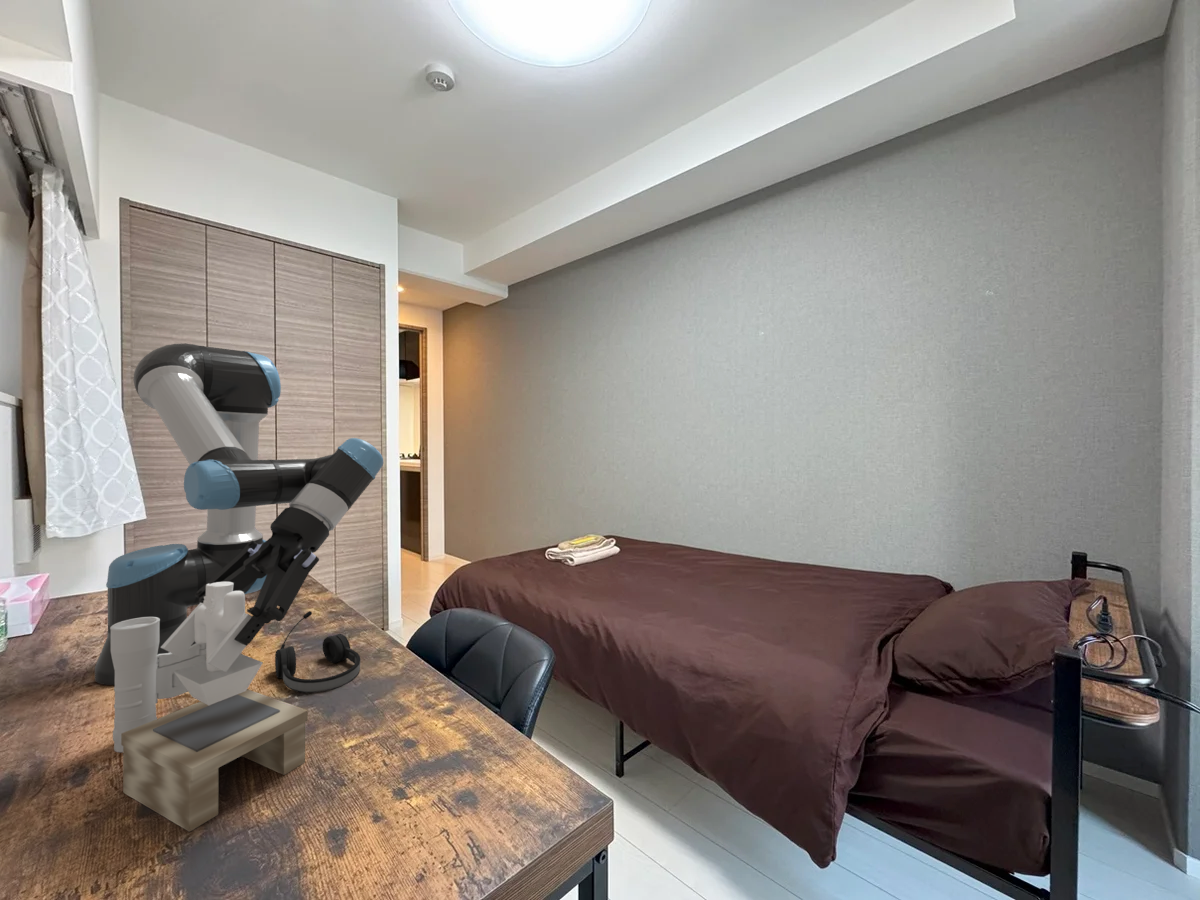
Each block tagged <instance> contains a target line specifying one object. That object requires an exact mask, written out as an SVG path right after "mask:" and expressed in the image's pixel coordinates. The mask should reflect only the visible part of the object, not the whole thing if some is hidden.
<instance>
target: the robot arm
mask: <svg viewBox="0 0 1200 900" xmlns="http://www.w3.org/2000/svg"><path fill="white" fill-rule="evenodd" d="M279 374H280V373H279V372H278V369H277V367H276V366H275V364H274V363H273V361H272V359H270V358H269V357H268V356H265V355H263V354H259V353H255V352H249V351H245V350H237V349H236V350H235V349H229V348H228V349H227V348H221V347H212V346H206V345H205V346H204V345H198V344H194V343H188V342H187V343H182V342H180V343H171V344H167V345H163V346H160V347H158V348H155V349H154V350H153V349H152V350H151V351H150V352H149V353H146V355H144V357H142V358H141V360H140V361H139V362H138V364H137V366H136V367H135V369H134V372H133V385H134V388H135V391H136V393H137V395H138V396H139V398H140V399H141V401H142V402H143V403H144V404H146V405H147V406H148V407H150V408H152V409H154V410H155V411H156V412H157V414H158V416H159V417H160V419H161V420H162V422H163V424H164V425H165V427H166V429H167V430H168V432H169V433H170V436H171V437H172V439H173V440H174V441H175V443H176V445H177V447H178V448H179V449H180V452H181V453H182V455H183V456H184V457H185V459H186V461H187V463H188V466H187V468H186V471H185V474H184V476H183V477H184V478H183V490H184V493H185V498H186V500H187V503H188V504H189V505H190V507H192V508H194V509H196V510H204V511H207V512H206V513H207V516H206V520H207V521H206V530H205V532H203V533H202V534H201V535H199V537H197V539H196V540H197V542H196V543H197V545H196V548H193V549H189V548H188V547H187V545H185V544H182V543H169V544H165V545H154V546H150V547H145V548H141V549H137V550H134V551H131V552H127V553H124V554H122V555H120V556H118V557H116V558H115V559H113V560H112V561H111V563H110V564H109V566H108V571H107V580H106V582H105V583H106V585H105V586H106V588H107V637H106V639H105V641H104V643H103V644H104V645H103V647H102V649H101V652H100V653H99V656H98V658H97V661H96V664H95V667H94V681H95V682H96V683H98V684H101V685H105V686H108V685H109V686H110V685H112V686H115V670H114V666H113V661H112V656H111V629H110V627H111V626H112V625H114V624H116V623H119V622H122V621H125V620H129V619H134V618H141V617H157V618H159V619H160V626H159V647H158V653H157V655H158V654H165V653H172V654H174V655H176V656H178V657H182V655H183V654H184V653H185V652H186V651H187V649H188V648H189V647H190V646H192V645H194V644H195V643H196V642H195V639H194V618H195V613H196V610H197V608H198V607H199V606H201V605H203V601H204V596H206V584H209V583H210V584H212V583H216V582H232V583H234V586H233V591H243V592H244V594H245V595H247V594H252V593H255V592H258V591H259V594H258V595H257V598H256V601H255V603H254V605H253V607H250V608H247V609H246V611H247V613H246V612H245V614H244V615H243V616H242V617H241V619H240V620H239V621H238V622H237V624H236V625H235V626H234V627H233V628H232V630H231V631H230V632H229V633H228V635H227V636H226V637H225V638H224V639H223V641H222V642H221V643H220V644H219V646H218V647H217V648H216V649H215V650H214V652H213V653H212V654H211V655H210V657H209V658H208V659H207V660H206V661H205V662H206V663H208V664H210V665H212V666H214V667H216V668H218V669H219V670H221V671H224V672H226V671H227V670H228V669H229V667H230V666H231V665H232V664H233V662H234V661H235V660H236V659H237V657H238V656H239V655H240V653H241V652H242V653H243V651H244V649H246V647H247V646H248V645H249V644H250V643H251V642H252V641H253V640H254V638H255V637H256V636H257V635H258V633H259V632H260V631H261V629H262V628H263V627H264V626H265V625H266V624H267V625H268V623H270V622H271V621H277V622H281V621H282V620H283V619H284V618H285V617H286V615H287V613H288V611H289V609H290V608H291V606H292V604H293V603H294V601H295V598H296V597H297V595H298V594H299V591H300V589H301V588H302V586H303V584H304V583H305V581H306V579H307V577H308V575H309V574H310V572H311V571H312V570H313V569H314V568H315V566H316V565H317V563H318V562H319V561H320V558H319V557H318V556H317V555H316V554H314V553H316V552H317V551H318V550H319V549H320V548H321V547H322V545H323V544H324V542H325V541H326V540H327V538H329V536H330V532H331V531H333V530H334V529H335V528H336V527H337V525H338V524H339V523H340V522H341V520H342V519H343V517H344V516H345V515H346V514H347V512H349V510H350V509H351V508H352V507H353V505H354V504H355V502H357V500H358V499H359V498H360V496H361V495H362V494H363V493H364V491H365V490H366V489H367V488H368V487H369V485H370V484H371V482H373V480H375V479H376V476H377V475H378V473H379V472H380V470H381V469H382V468H383V466H384V458H383V455H382V453H381V452H380V451H379V450H378V449H377V448H376V447H375V446H374V445H372V444H371V443H370V442H368V441H366V440H364V439H361V438H357V437H350V438H348V439H346V440H345V441H344V442H343V443H342V444H341V445H338V447H337V449H336V451H335V452H334V453H332V454H328V455H325V456H322V457H317V458H302V459H301V458H299V459H298V458H297V459H294V458H293V459H292V458H291V459H288V458H287V459H259V440H260V439H259V438H260V437H259V436H260V435H259V434H260V431H259V430H260V422H261V421H262V420H263V419H265V418H266V417H267V416H268V415H269V414H268V412H269V408H273V407H275V406H276V405H277V404H278V402H279V401H280V400H279V398H280V397H281V393H282V387H281V379H280V375H279ZM280 504H282V505H283V504H288V506H289V507H285V508H284V509H283V510H282V511H281V513H280V514H278V515H277V517H276V518H275V519H274V520H273V522H272V523H271V524H270V531H271V534H272V535H271V536H270V537H269V538H268V539H267V540H266V539H264V534H263V533H262V532H261V531H259V530H258V528H256V516H257V515H256V513H257V512H256V510H257V506H267V505H268V506H269V505H280ZM193 606H195V608H194V609H193V610H192V611H191V613H189V615H188V608H189V607H193ZM278 607H279V608H278ZM187 615H188V616H187ZM242 653H241V654H242ZM157 659H158V658H157ZM157 663H158V662H157ZM164 666H165V665H164Z"/></svg>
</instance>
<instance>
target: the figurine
mask: <svg viewBox="0 0 1200 900" xmlns="http://www.w3.org/2000/svg"><path fill="white" fill-rule="evenodd" d="M233 586H234V583H232V582H216V583H212V584H210V583H209V584H206V596H204V601H203V605H201V606H199V607H198V608H197V610H196V613H195V618H194V639H195V642H196V643H198V644H203V643H206V660H207V659H208V658H209V657H210V655H211V654H212V653H213V652H214V650H215V649H216V648H217V647H218V646H219V644H220V643H221V642H222V641H223V639H224V638H225V637H226V636H227V635H228V633H229V632H230V631H231V630H232V628H233V627H234V626H235V625H236V624H237V622H238V621H239V620H240V619H241V617H242V616H243V615H244V614H245V613H246V594H244V592H243V591H233ZM263 663H264V662H263V661H260V660H258V659H256V658H253V657H250V656H248V655H246V654H244V653H241V654H240V655H239V656H238V657H237V659H236V660H235V661H234V662H233V664H232V665H231V666H230V667H229V669H228V670H227V671H226V672H224V671H221V670H219V669H218V668H216V667H214V666H212V665H210V664H208V663H206V662H202V663H199V664H195V665H192V666H189V667H186V668H183V669H180V670H177V671H174V672H175V674H176V675H177V677H178V678H179V679H180V681H181V682H182V683H183V685H184V686H185V688H186V689H187V690H188V692H187V693H189V695H190V696H191V697H192V698H194V699H196V700H198V702H200V701H201V702H203V703H205V704H207V705H211V704H214V703H216V702H219V701H222V700H224V699H227V698H229V697H232V696H234V695H237V694H240V693H242V692H245V691H246V690H247V689H248V688H249V687H250V685H251V683H252V682H253V680H254V678H255V677H256V675H257V674H258V671H260V669H261V667H262V665H263Z"/></svg>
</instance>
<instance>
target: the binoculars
mask: <svg viewBox="0 0 1200 900" xmlns="http://www.w3.org/2000/svg"><path fill="white" fill-rule="evenodd" d="M159 626H160V619H159V618H157V617H141V618H134V619H129V620H125V621H122V622H119V623H116V624H114V625H112V626H111V627H110V629H111V656H112V661H113V666H114V670H115V685H114V688H113V691H114V704H113V708H114V718H113V726H114V727H113V730H112V741H113V745H114V746H113V750H114V752H116V753H123V746H122V745H121V733H124V732H126V731H129V730H131V729H134V728H136V727H139V726H141V725H144V724H146V723H149V722H151V721H153V720H156V719H158V717H157V707H156V706H157V704H158V703H159V701H158V700H162V699H163V700H165V699H172V698H174V697H178V696H180V695H183V694H185V693H189V692H188V690H187V689H186V688H185V686H184V685H183V683H182V682H181V681H180V679H179V678H178V677H177V675H176V674H175V672H174V671H177V670H180V669H183V668H186V667H189V666H192V665H195V664H199V663H202V662H205V661H206V643H203V644H198V643H195V644H194V645H192V646H190V647H189V648H188V649H187V651H186V652H185V653H184V654H183V655H182V657H178V656H176V655H174V654H172V653H165V654H158V655H157V653H158V647H159ZM240 654H243V651H242V652H241V653H240ZM157 658H158V659H157ZM157 662H158V663H157ZM164 665H165V666H164Z"/></svg>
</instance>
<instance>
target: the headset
mask: <svg viewBox="0 0 1200 900" xmlns="http://www.w3.org/2000/svg"><path fill="white" fill-rule="evenodd" d="M312 615H313V612H312V611H311V610H308V611H307V612H306V613H305V614H303V617H302V618H301V619H300V620H299V621H298V622H297V623H296V624H295V625H294V626H293V627H292V629H290V631H289V633H288V634H287V636H286V638H285V639H284V641H283V644H281V646H280V648H278V649H277V650H276V651H275V654H274V655H275V657H274V667H275V675H276V677H277V679H278V678H279V679H282V681H283V683H284V686H285V687H287V689H289V690H291V691H293V692H297V693H302V694H314V693H315V694H316V693H320V692H326V691H330V690H334V689H337V688H339V687H341V686H344V685H347V684H348V683H350V682H352V681H353V680H354V679H356V678H357V676H358V675H359V673H360V670H361V655H360V654H359V653H358V652H357V651H356V650H354V649H351V644H350V641H349V640H348V638H347V636H345V635H344V634H342V633H337V634H334V635H329V636H326V637H325V638H324V639H323V641H322V651H323V656H324V657H325V658H326V659H325V660H327V661H328V662H329V663H333V664H337V663H339V662H341V661H344V660H346V659H348V660H349V661H351V662H352V663H353V665H352V666H351V667H349V668H348V669H346V670H345V671H343V672H341V673H338V674H336V675H332V676H328V677H323V678H312V679H311V678H309V679H306V678H299V677H296V676H294V675H295V673H296V671H297V670H296V669H297V658H296V657H297V656H296V655H297V654H296V650H295V648H294V646H293V645H292V646H291V645H289V646H287V647H285V646H286V643H287V639H288V638H289V636H290V635H291V633H292V632H293V630H294V629H295V627H297V626H298V625H299V624H300V622H302V621H303V620H304V619H305V620H306V619H308V618H309V617H310V616H312Z"/></svg>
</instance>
